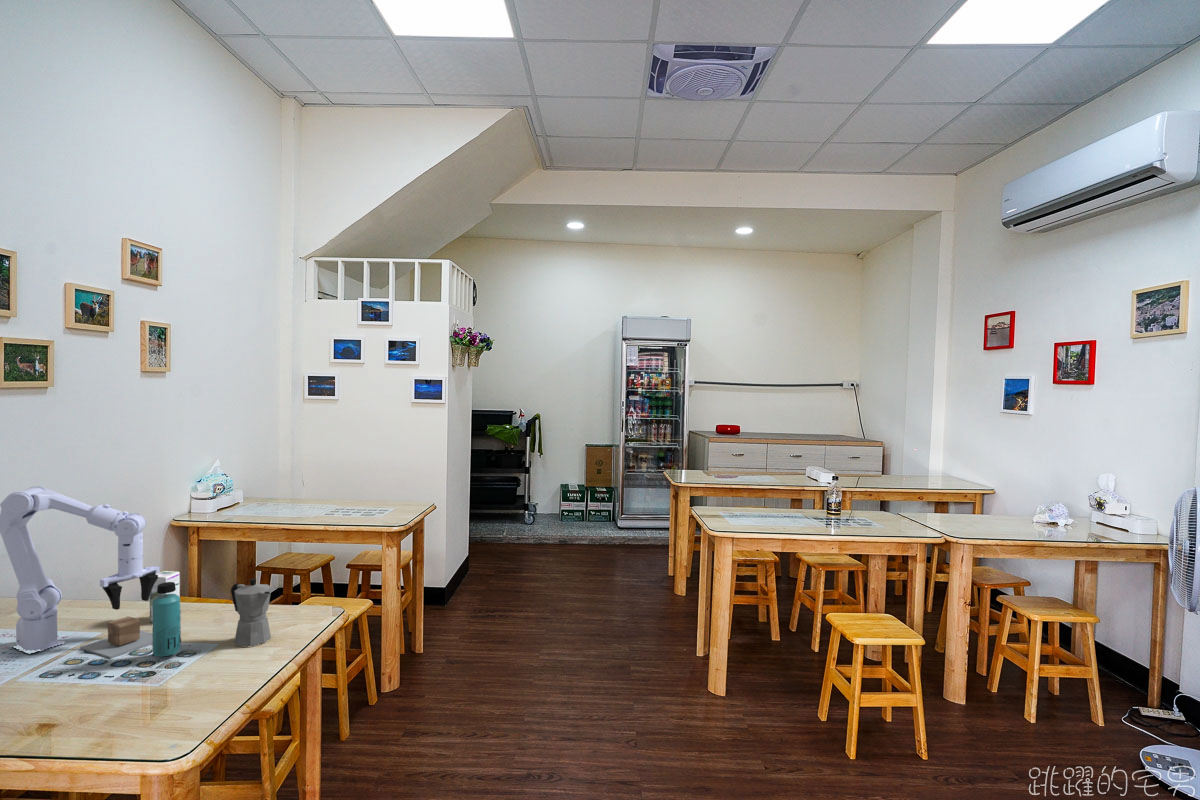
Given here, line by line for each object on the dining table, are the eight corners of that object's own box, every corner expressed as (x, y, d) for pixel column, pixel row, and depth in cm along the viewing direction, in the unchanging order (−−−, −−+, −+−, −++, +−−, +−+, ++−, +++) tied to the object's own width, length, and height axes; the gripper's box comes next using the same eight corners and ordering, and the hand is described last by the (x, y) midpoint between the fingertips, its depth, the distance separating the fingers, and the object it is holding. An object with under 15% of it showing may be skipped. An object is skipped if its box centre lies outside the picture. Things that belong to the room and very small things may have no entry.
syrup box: (180, 616, 195) (180, 570, 194) (165, 623, 189) (165, 576, 189) (163, 615, 195) (163, 569, 195) (148, 622, 190) (148, 575, 189)
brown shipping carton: (108, 642, 173) (107, 622, 173) (128, 635, 178) (128, 616, 177) (119, 645, 171) (119, 625, 171) (139, 638, 176) (139, 619, 175)
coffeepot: (283, 638, 180) (283, 577, 179) (254, 651, 171) (254, 587, 170) (246, 629, 186) (246, 570, 185) (216, 641, 177) (216, 579, 177)
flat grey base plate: (80, 648, 171) (80, 627, 171) (135, 630, 184) (135, 610, 183) (110, 658, 165) (110, 636, 165) (165, 639, 178) (165, 618, 178)
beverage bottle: (166, 663, 163) (166, 588, 162) (145, 660, 164) (145, 586, 164) (187, 653, 169) (187, 580, 169) (167, 650, 171) (166, 578, 170)
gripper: (110, 566, 169) (110, 615, 169) (166, 553, 182) (166, 598, 183) (95, 562, 172) (95, 611, 172) (150, 550, 185) (151, 595, 185)
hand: (130, 604), depth 178 cm, fingers open, 7 cm apart
